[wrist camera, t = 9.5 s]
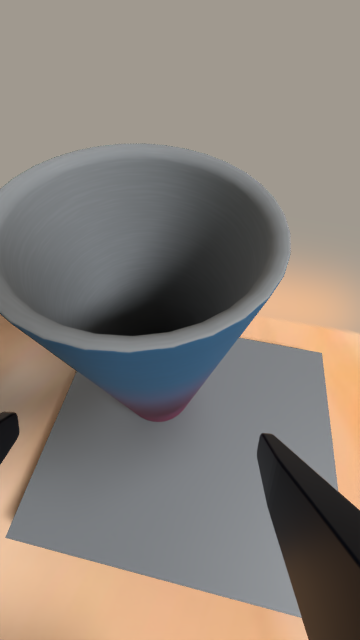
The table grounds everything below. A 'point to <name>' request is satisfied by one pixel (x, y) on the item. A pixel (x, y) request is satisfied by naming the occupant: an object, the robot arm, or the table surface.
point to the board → (182, 477)
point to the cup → (139, 266)
